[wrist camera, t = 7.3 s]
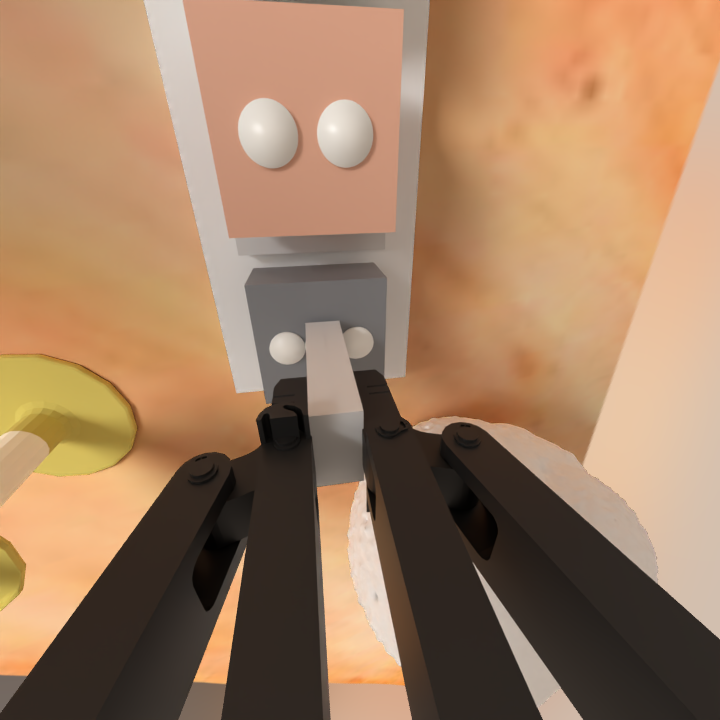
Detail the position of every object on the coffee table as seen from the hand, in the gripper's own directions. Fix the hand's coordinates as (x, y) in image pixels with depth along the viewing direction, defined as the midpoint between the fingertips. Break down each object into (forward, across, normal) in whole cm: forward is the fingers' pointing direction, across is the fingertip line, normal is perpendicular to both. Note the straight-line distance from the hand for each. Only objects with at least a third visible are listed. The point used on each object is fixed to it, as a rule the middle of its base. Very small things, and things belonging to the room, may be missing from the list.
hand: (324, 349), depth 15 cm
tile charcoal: (+3, 0, 0) cm, 3 cm away
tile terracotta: (+2, 0, +8) cm, 8 cm away
